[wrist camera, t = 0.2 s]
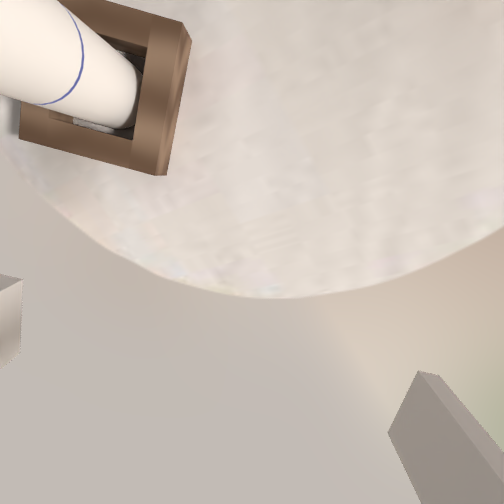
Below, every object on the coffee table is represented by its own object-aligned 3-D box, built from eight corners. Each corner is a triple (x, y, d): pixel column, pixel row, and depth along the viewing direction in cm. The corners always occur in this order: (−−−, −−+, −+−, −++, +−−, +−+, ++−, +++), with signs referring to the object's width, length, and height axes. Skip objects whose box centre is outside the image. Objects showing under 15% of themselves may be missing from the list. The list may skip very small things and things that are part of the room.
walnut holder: (58, 2, 32) (30, -22, 28) (192, 40, 32) (182, 22, 28) (45, 142, 35) (18, 138, 31) (166, 175, 36) (154, 175, 32)
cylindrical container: (122, 143, 35) (-194, 73, 11) (70, 97, 34) (-412, -96, 10) (161, 90, 33) (-103, -128, 9) (107, 41, 32) (-348, -351, 8)
